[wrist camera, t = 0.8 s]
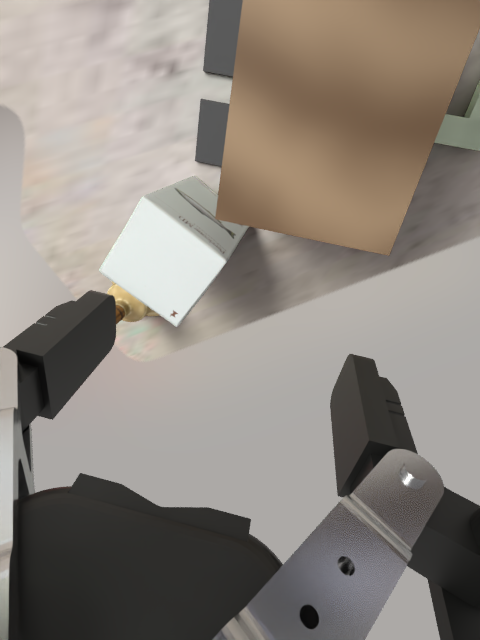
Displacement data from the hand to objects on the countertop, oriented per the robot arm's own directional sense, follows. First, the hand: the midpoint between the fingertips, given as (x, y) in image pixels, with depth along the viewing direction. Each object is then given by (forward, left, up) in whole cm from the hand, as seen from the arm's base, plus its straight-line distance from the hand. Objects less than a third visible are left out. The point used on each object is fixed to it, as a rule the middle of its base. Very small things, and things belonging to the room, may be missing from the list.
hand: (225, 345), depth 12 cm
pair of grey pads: (-8, -6, -25) cm, 27 cm away
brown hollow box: (-8, +2, -25) cm, 27 cm away
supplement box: (+4, -7, -26) cm, 27 cm away
